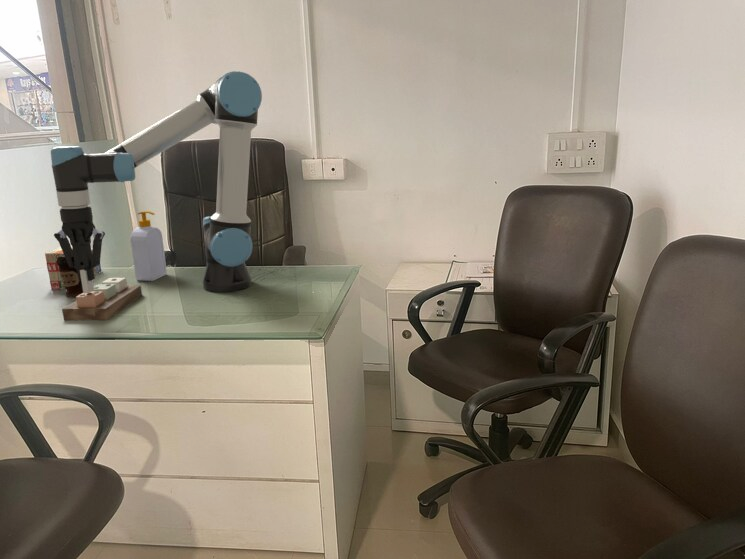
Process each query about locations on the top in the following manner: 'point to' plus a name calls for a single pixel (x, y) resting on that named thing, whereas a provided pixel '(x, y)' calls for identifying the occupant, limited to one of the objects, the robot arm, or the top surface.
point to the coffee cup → (69, 277)
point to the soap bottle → (148, 251)
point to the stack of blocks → (54, 268)
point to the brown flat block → (103, 306)
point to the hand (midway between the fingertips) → (88, 291)
